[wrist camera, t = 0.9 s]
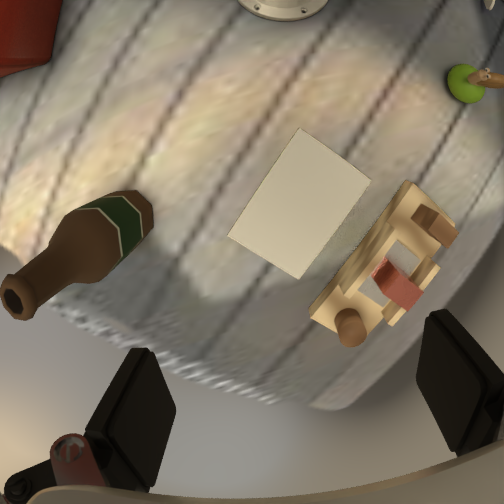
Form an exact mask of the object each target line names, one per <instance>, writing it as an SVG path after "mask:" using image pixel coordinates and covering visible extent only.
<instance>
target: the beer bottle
mask: <svg viewBox="0 0 504 504" xmlns="http://www.w3.org/2000/svg"><path fill="white" fill-rule="evenodd" d="M152 228H153V216H152V205H151V204H150V203H149V202H148V201H146V200H145V199H144V198H143V197H142V196H141V195H140V194H139V193H138V192H137V191H136V190H135V191H116V192H113V193H110V194H108V195H105V196H103V197H101V198H99V199H96V200H94V201H92V202H90V203H87V204H85V205H83V206H81V207H79V208H77V209H75V210H73V211H71V212H70V213H68V214H67V215H65V216H64V218H63V219H62V221H61V222H60V224H59V226H58V227H57V229H56V231H55V233H54V234H53V236H52V238H51V240H50V241H49V246H48V247H47V248H46V249H45V250H44V251H43V252H41V253H40V254H39V255H38V256H36V257H35V258H34V259H33V260H31V261H30V262H29V263H28V264H26V265H25V266H24V267H23V268H22V269H20V270H19V271H18V272H17V273H15V274H14V275H13V274H8V275H7V276H6V277H5V279H4V280H3V282H2V284H1V287H0V297H1V300H2V303H3V306H4V308H5V309H6V310H7V311H8V312H9V313H10V314H11V316H12V317H13V318H14V319H19V320H24V321H26V320H28V319H31V318H33V316H34V314H35V312H36V311H37V308H38V307H40V306H41V305H42V304H44V303H45V302H46V301H48V300H49V299H50V298H52V297H53V296H54V295H56V294H57V293H58V292H60V291H61V290H62V289H64V288H65V287H66V286H68V285H70V284H72V283H87V284H90V283H95V282H99V281H101V280H102V279H103V278H104V277H106V276H107V275H108V274H109V273H110V272H111V271H112V270H113V269H114V268H115V267H116V266H117V265H118V264H119V263H120V262H121V261H122V260H123V259H124V258H126V257H127V256H128V255H129V254H130V253H131V252H132V251H133V250H134V249H135V248H136V247H137V246H138V245H139V244H140V242H141V241H142V240H143V239H144V238H145V236H146V235H147V234H148V233H149V232H150V231H151V229H152Z"/></svg>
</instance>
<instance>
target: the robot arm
mask: <svg viewBox="0 0 504 504" xmlns="http://www.w3.org/2000/svg"><path fill="white" fill-rule="evenodd" d="M237 1H238V2H239V3H240V4H241V5H242V6H243V7H244V8H245V9H247V10H248V11H250V12H251V13H253V14H255V15H257V16H260V17H263V18H265V19H270V20H275V21H295V20H300V19H304V18H307V17H309V16H312V15H314V14H315V13H317V12H318V11H320V10H321V9H322V8H323V7H324V6H325V5H326V3H327V2H328V0H237ZM257 8H259V9H260V10H256V9H257ZM302 12H305V13H302ZM416 381H417V385H418V387H419V389H420V391H421V392H422V395H423V396H424V398H425V400H426V402H427V404H428V406H429V408H430V410H431V412H432V414H433V416H434V418H435V420H436V422H437V424H438V426H439V428H440V430H441V432H442V434H443V436H444V438H445V441H446V442H447V445H448V447H449V449H450V451H451V452H454V451H455V453H456V455H457V458H454V459H452V460H449V461H446V462H443V463H440V464H437V465H435V466H432V467H429V468H426V469H423V470H419V471H417V472H413V473H410V474H406V475H403V476H399V477H395V478H392V479H388V480H384V481H380V482H375V483H371V484H367V485H362V486H357V487H352V488H346V489H341V490H335V491H328V492H322V493H315V494H306V495H297V496H286V497H272V498H250V499H249V498H247V499H219V498H215V499H214V498H195V497H181V496H170V495H161V494H152V493H149V490H150V487H153V486H154V485H155V483H156V479H157V476H158V472H159V469H160V466H161V462H162V459H163V455H164V452H165V449H166V445H167V442H168V438H169V435H170V432H171V428H172V425H173V422H174V419H175V415H176V406H175V403H174V401H173V399H172V396H171V394H170V391H169V389H168V387H167V384H166V382H165V380H164V377H163V374H162V372H161V369H160V367H159V364H158V361H157V359H156V356H155V354H154V352H150V350H149V349H148V348H131V349H130V351H129V352H128V354H127V356H126V358H125V359H124V361H123V363H122V364H121V366H120V368H119V370H118V371H117V373H116V375H115V376H114V378H113V380H112V381H111V383H110V386H109V387H108V388H107V390H106V392H105V394H104V396H103V397H102V399H101V401H100V403H99V404H98V406H97V408H96V410H95V412H94V413H93V415H92V417H91V419H90V421H89V423H88V424H87V426H86V428H85V431H86V432H85V433H84V435H83V436H82V435H80V434H76V433H75V434H67V435H64V436H62V437H60V438H59V439H57V440H56V441H55V442H54V443H53V445H52V446H51V449H50V459H49V460H46V461H44V462H42V463H40V464H37V465H35V466H32V467H30V468H28V469H25V470H23V471H20V472H18V473H16V474H14V475H12V476H11V477H10V478H9V479H8V480H7V482H6V483H5V487H4V494H2V493H1V492H0V504H504V374H503V373H502V371H501V370H500V369H499V368H498V366H497V365H496V364H495V363H494V361H493V360H492V359H491V358H490V357H489V356H488V354H487V353H486V352H485V351H484V350H483V349H482V347H481V346H480V345H479V344H478V343H477V342H476V340H475V339H474V338H473V337H472V336H471V335H470V334H469V333H468V332H467V330H466V329H465V328H464V327H463V326H462V325H461V324H460V323H459V322H458V321H457V319H456V318H455V317H454V316H453V315H452V314H451V313H450V312H449V311H448V310H447V309H441V310H437V311H432V312H431V313H430V314H429V317H426V319H425V325H424V332H423V339H422V345H421V352H420V357H419V363H418V368H417V374H416Z"/></svg>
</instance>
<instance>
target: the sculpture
mask: <svg viewBox="0 0 504 504" xmlns="http://www.w3.org/2000/svg"><path fill="white" fill-rule="evenodd" d="M503 1H504V0H503ZM484 3H485V6H486V8H487V9H489V10H491V9H492V8H493V6H494V3H495V0H484Z"/></svg>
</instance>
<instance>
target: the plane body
mask: <svg viewBox="0 0 504 504" xmlns="http://www.w3.org/2000/svg"><path fill="white" fill-rule="evenodd" d="M454 226H455V223H454V222H453V221H452V220H451V219H450V218H449V217H448V216H447V215H446V214H445V213H444V212H443V211H442V210H441V209H440V208H439V207H438V206H437V205H436V204H435V203H434V202H433V201H432V200H431V199H430V198H429V197H428V196H427V195H426V194H425V193H423V192H422V191H421V190H420V189H419V188H418V187H417V186H416V185H415V184H414V183H411V182H409V181H406V180H405V181H404V183H403V184H402V186H401V187H400V189H399V190H398V192H397V193H396V195H395V196H394V197H393V199H392V200H391V202H390V203H389V204H388V206H387V207H386V209H385V210H384V211H383V213H382V214H381V216H380V217H379V218H378V220H377V221H376V223H375V224H374V225H373V227H372V228H371V229H370V231H369V232H368V233H367V235H366V236H365V237H364V239H363V240H362V241H361V243H360V244H359V245H358V247H357V248H356V249H355V251H354V252H353V253H352V255H351V256H350V257H349V258H348V260H347V261H346V262H345V264H344V265H343V266H342V267H341V269H340V270H339V271H338V273H337V274H336V275H335V276H334V278H333V279H332V280H331V281H330V283H329V284H328V285H327V286H326V288H325V289H324V290H323V291H322V293H321V294H320V295H319V296H318V297H317V299H316V300H315V301H314V302H313V303H312V305H311V306H310V307H309V308H308V309H309V313H310V318H312V319H313V320H315V321H317V322H319V323H320V324H322V325H324V326H326V327H327V328H329V329H331V330H333V331H334V332H336V333H338V335H339V338H340V341H341V343H342V344H343V345H344V346H346V347H355V346H358V345H360V344H361V343H363V342H364V340H365V339H366V337H367V335H368V334H369V333H370V332H371V331H372V329H373V328H374V327H375V326H376V325H377V324H378V323H379V322H380V321H381V319H382V318H383V317H384V318H385V320H386V322H387V323H388V324H389V325H391V326H393V325H394V324H395V323H396V322H397V321H398V320H399V318H400V317H401V316H402V315H403V314H404V313H405V312H406V310H405V309H403V308H402V307H400V306H399V305H398V304H396V303H395V302H393V301H392V300H391V299H390V300H389V301H388V303H387V304H386V305H385V306H384V307H382V306H380V305H379V304H377V303H376V302H374V301H373V300H371V299H370V298H368V297H367V296H365V295H364V294H362V293H361V292H359V291H358V288H359V287H360V286H361V285H362V283H363V282H364V281H365V280H366V278H367V277H368V276H369V275H370V273H371V272H372V271H373V270H374V268H375V267H376V266H377V265H378V263H379V262H380V261H381V259H382V258H383V257H384V256H385V254H386V253H387V252H388V250H389V249H390V248H391V246H392V245H393V244H394V242H395V241H396V240H397V241H398V242H400V243H401V244H402V245H403V246H404V247H406V248H407V249H408V250H409V251H410V252H412V253H413V254H414V255H415V256H416V257H418V258H419V259H420V260H421V262H420V263H419V264H418V266H417V267H416V268H415V269H414V271H413V272H412V273H411V275H410V277H411V278H412V280H413V281H414V282H415V283H416V284H417V285H418V286H419V287H420V289H421V290H422V291H423V290H424V289H425V287H426V286H427V285H428V284H429V282H430V281H431V280H432V279H433V277H434V276H435V275H436V273H437V272H438V271H439V269H440V267H439V266H438V265H437V264H436V263H435V262H433V261H432V260H431V258H432V257H433V255H434V254H435V253H436V251H437V250H438V249H439V247H440V246H441V244H442V245H443V246H445V247H446V248H447V249H448V248H449V247H450V245H451V244H452V242H453V241H454V240H455V238H456V237H457V235H458V234H459V232H458V231H457V230H456V229H455V228H454Z"/></svg>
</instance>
